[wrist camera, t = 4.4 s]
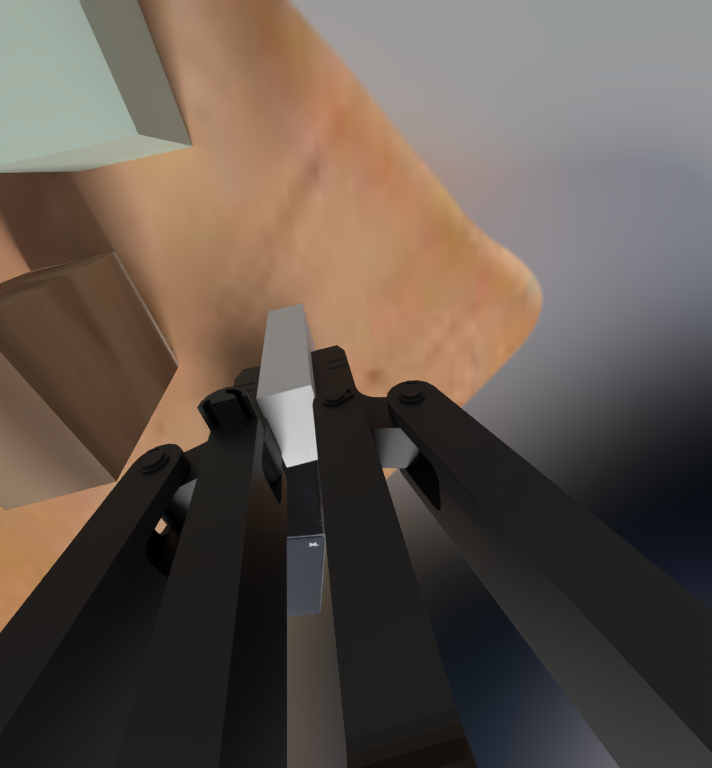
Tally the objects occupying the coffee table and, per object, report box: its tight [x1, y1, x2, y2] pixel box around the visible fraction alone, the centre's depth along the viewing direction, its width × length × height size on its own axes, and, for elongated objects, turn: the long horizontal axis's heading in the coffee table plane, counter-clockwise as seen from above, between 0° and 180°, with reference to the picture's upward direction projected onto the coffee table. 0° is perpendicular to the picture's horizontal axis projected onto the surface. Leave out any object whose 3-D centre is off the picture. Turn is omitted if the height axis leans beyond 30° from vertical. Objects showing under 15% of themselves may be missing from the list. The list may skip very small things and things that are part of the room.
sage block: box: [0, 0, 192, 173], centre depth 13 cm, size 6×6×8 cm
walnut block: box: [0, 251, 180, 510], centre depth 18 cm, size 5×8×11 cm, turn 10°
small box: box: [282, 458, 326, 617], centre depth 28 cm, size 11×6×10 cm, turn 175°
